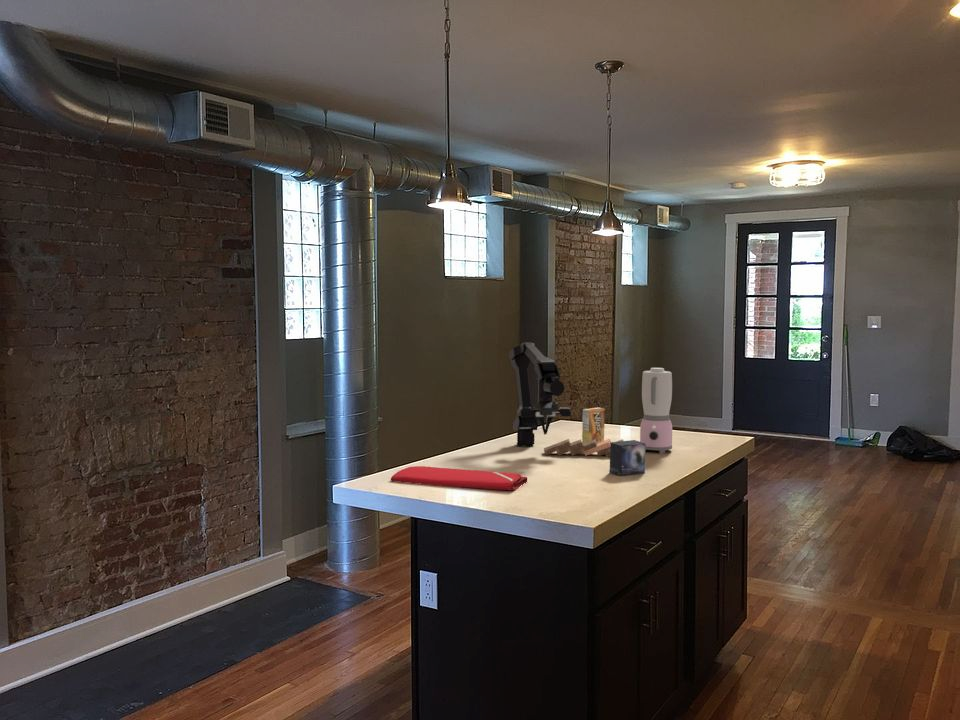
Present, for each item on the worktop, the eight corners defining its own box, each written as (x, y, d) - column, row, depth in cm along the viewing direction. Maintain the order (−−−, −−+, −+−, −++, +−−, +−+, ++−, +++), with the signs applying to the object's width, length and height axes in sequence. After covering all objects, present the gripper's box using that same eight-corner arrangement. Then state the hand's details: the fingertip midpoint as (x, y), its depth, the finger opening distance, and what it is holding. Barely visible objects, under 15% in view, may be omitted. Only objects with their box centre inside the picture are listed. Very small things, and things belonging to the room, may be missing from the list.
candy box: (596, 445, 317) (597, 407, 316) (604, 446, 314) (605, 408, 313) (581, 447, 312) (581, 409, 311) (589, 449, 309) (589, 410, 307)
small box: (620, 476, 260) (621, 445, 259) (608, 472, 265) (609, 442, 265) (646, 473, 264) (646, 442, 264) (633, 469, 270) (634, 439, 269)
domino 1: (543, 450, 295) (568, 441, 294) (543, 448, 301) (568, 438, 300) (545, 455, 295) (570, 445, 294) (545, 452, 301) (570, 443, 300)
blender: (643, 446, 313) (644, 366, 311) (674, 449, 309) (675, 367, 307) (635, 453, 299) (636, 369, 297) (668, 456, 294) (669, 370, 292)
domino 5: (596, 451, 293) (621, 442, 291) (598, 448, 299) (622, 439, 296) (598, 456, 294) (623, 447, 291) (600, 452, 299) (624, 443, 296)
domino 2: (556, 451, 295) (581, 441, 294) (556, 448, 300) (580, 439, 299) (558, 455, 295) (583, 446, 294) (557, 452, 300) (582, 443, 299)
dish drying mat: (412, 473, 266) (412, 462, 266) (528, 483, 251) (528, 472, 251) (390, 483, 251) (390, 471, 251) (512, 494, 237) (512, 482, 236)
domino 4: (586, 452, 300) (611, 443, 297) (585, 455, 295) (610, 446, 292) (585, 447, 300) (609, 438, 297) (583, 451, 295) (608, 442, 292)
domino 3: (569, 451, 295) (595, 442, 293) (570, 448, 300) (595, 439, 299) (571, 455, 295) (596, 446, 293) (572, 452, 300) (596, 443, 299)
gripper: (520, 395, 289) (520, 437, 290) (571, 395, 288) (571, 438, 289) (520, 392, 300) (520, 432, 301) (570, 392, 299) (569, 433, 300)
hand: (545, 434), depth 298 cm, fingers closed
